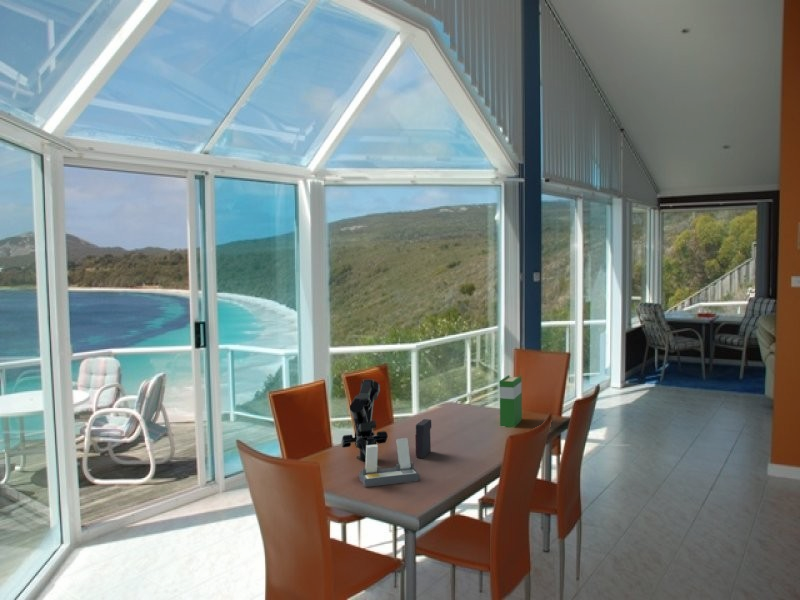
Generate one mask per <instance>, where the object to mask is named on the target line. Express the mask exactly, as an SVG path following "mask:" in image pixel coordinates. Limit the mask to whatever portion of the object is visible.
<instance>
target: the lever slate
mask: <svg viewBox="0 0 800 600" xmlns="http://www.w3.org/2000/svg"><path fill="white" fill-rule="evenodd" d="M395 441H396V451H397V460H398V464H399V469H408V468H411V464H410V463H411V457H410V451H409V450H410V448H409V441H408V437H401V438H395Z"/></svg>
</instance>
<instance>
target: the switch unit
mask: <svg viewBox="0 0 800 600" xmlns="http://www.w3.org/2000/svg"><path fill="white" fill-rule="evenodd" d="M410 464H411V468H408V469H399V463H396V464H395V467H388V468H386V467H385V468H381V467H380V465H377V472H372V473H365V467H362V468H361V471H358V472H359V474H358V475H359V480H360V482H361V484H362V483H363V484H362V485H363V487H364V488H370V487H378V486H385V485H393V484H402V483H409V482H418V481H420V473H419V472H418V471H417V469H415V468H414V465H415V464H414V462H413V461H410Z"/></svg>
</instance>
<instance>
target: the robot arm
mask: <svg viewBox="0 0 800 600" xmlns="http://www.w3.org/2000/svg"><path fill="white" fill-rule="evenodd" d="M380 392H381V385H380V384H379V382H376V381H375V380H374V379H371V378H370V379H369V378H368V379H367V378H366V379H365V378H364V379H362V380H361V383H360V391H359V394H357V395H355V396H354V398H353V399H352V401H351V403H350V405H349V410H350V412H351V415H352V419H353V423H354V428H355V432H354V436H353V435H352V434H344V435H343V436H342V437H341V447H342V448H344V449H345V448H350V447H351V445H352V443H355V447H356V449H359V453H358V454H359V455H358V456H356V459H358V460H360V461H361V462H366V445H376V444H377V445H378V444H385V443H387V440H388V432H387V431H385V430H383V431H377V432H376V434H375V432H374V429H375V430H376V428H377V423H376V420H375V419H374V420H373V413H374V406H375V405H374V402H375V401H376V400H377V399H378V397H379V393H380Z"/></svg>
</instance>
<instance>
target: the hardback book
mask: <svg viewBox="0 0 800 600" xmlns="http://www.w3.org/2000/svg"><path fill="white" fill-rule="evenodd" d="M522 386H523V385H522V375H519V376H511V375H509V374H508V375H507V376H505V377H503V378H501V379H500V380H499V422H500V423H499V426H506V427H505V428H511V427H514V428H516V427H517V426H518V424H520V423H521V421H523V409H522V408H523V401H522V400H523V398H522V397H523V396H522V390H523V389H522Z"/></svg>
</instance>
